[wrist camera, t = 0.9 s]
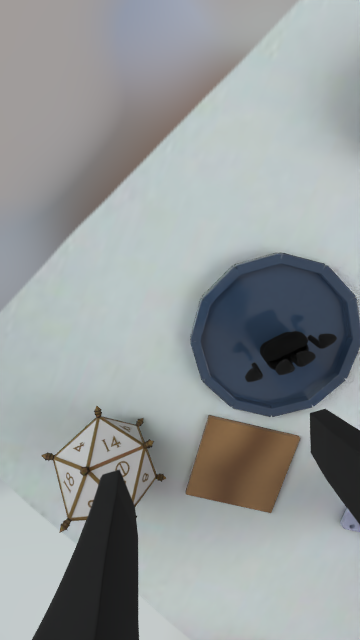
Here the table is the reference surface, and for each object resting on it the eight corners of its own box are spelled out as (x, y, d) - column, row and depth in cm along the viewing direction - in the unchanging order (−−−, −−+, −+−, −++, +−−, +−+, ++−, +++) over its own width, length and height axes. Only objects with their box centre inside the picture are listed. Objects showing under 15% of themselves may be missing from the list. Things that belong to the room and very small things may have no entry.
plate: (379, 278, 24) (387, 279, 23) (320, 422, 27) (325, 430, 26) (217, 236, 24) (218, 236, 23) (176, 389, 27) (175, 395, 26)
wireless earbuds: (242, 369, 26) (255, 399, 21) (228, 344, 25) (238, 368, 20) (320, 331, 25) (352, 352, 20) (307, 304, 24) (338, 320, 20)
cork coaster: (298, 435, 28) (300, 438, 27) (270, 509, 30) (271, 513, 29) (208, 414, 27) (209, 417, 27) (185, 491, 29) (185, 494, 29)
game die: (114, 399, 31) (71, 378, 22) (187, 443, 29) (174, 440, 20) (61, 485, 29) (-13, 502, 19) (136, 542, 26) (94, 591, 17)
